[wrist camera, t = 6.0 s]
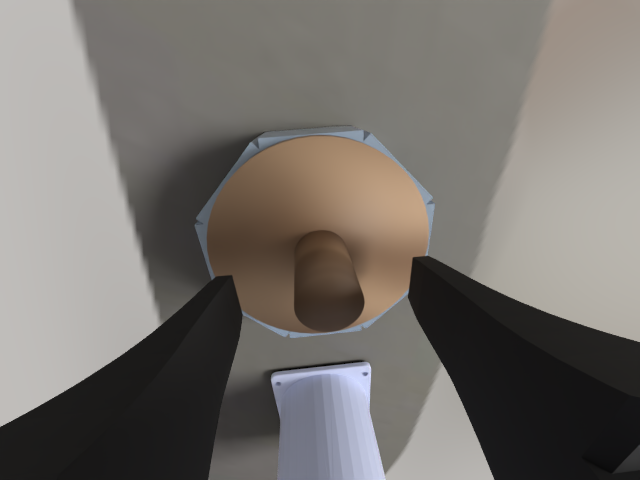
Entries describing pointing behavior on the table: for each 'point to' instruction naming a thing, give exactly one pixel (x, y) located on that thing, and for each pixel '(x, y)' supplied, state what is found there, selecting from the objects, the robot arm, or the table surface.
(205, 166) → the table surface
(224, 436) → the table surface
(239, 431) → the table surface
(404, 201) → the lid
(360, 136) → the bowl
